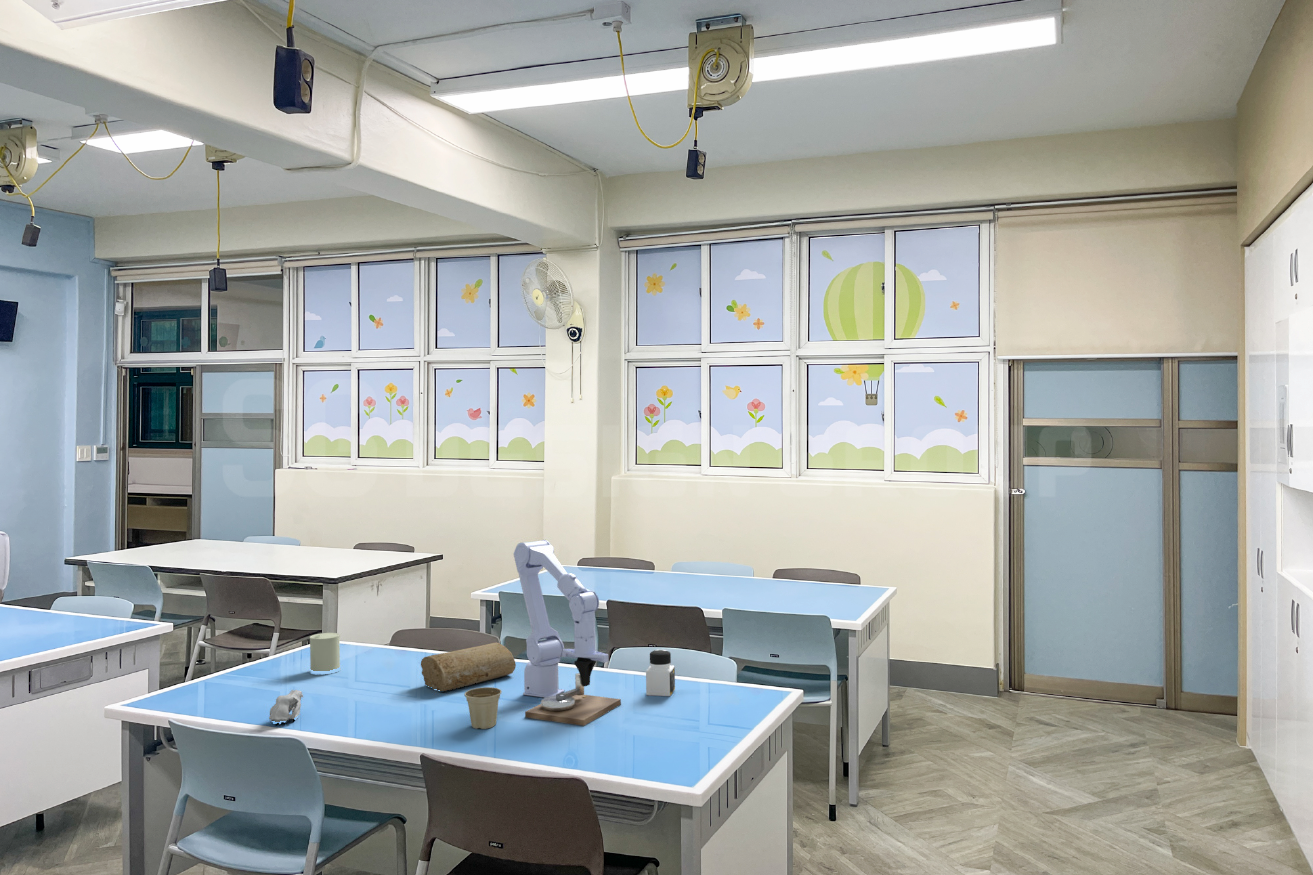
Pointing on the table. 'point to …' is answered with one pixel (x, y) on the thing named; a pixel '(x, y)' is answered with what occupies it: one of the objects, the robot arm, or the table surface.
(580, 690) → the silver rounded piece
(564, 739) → the table surface
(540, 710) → the stand board
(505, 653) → the core sample
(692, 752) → the table surface
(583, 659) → the robot arm
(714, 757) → the table surface
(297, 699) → the skull
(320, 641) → the can
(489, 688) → the flower pot
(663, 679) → the medicine bottle
